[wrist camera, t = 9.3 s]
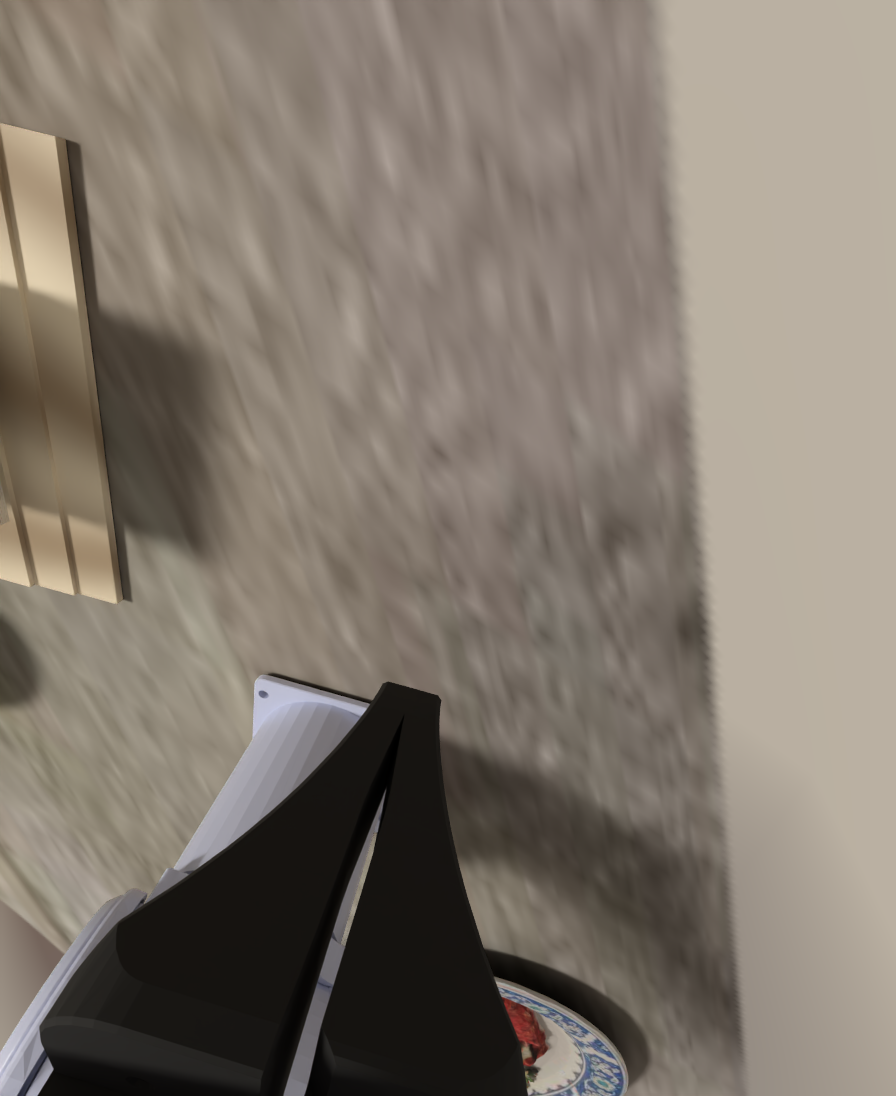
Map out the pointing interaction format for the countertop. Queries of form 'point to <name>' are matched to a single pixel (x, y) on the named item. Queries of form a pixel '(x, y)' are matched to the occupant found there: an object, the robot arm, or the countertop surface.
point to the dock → (48, 384)
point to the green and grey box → (3, 508)
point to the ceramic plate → (561, 1047)
